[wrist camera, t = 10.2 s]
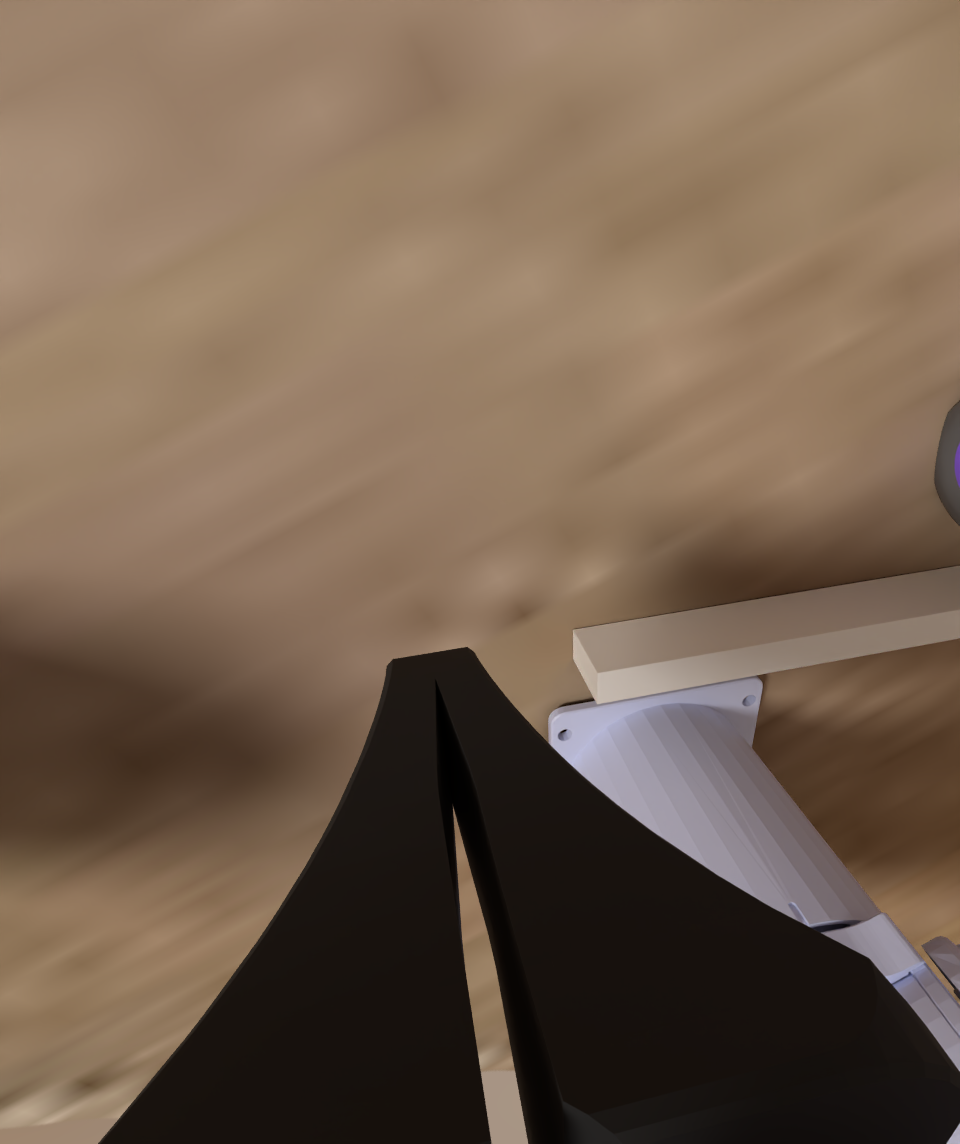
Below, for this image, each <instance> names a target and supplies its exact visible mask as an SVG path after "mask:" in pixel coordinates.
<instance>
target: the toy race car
mask: <svg viewBox="0 0 960 1144" xmlns="http://www.w3.org/2000/svg"><path fill="white" fill-rule="evenodd" d="M934 481H935V486H936V490H937V493H938V495H939V497H940V499H941V502H942V503H943V505H944V507H945V508H946V510H947V511H948V513H949V514H950V516H951V517H952V518H953V519H954V520H955V521H956V523H957V524H958V525H959V526H960V402H958V403H957V404H956V405H955V406H954V407H953V408H952V409H951V410H950V411H949V412H948V414H947V417H946V420H945V422H944V426H943V429H942V433H941V437H940V442H939V447H938V452H937V458H936V465H935V478H934Z"/></svg>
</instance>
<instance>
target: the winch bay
mask: <svg viewBox="0 0 960 1144" xmlns="http://www.w3.org/2000/svg"><path fill="white" fill-rule="evenodd" d="M959 638H960V566H954V567H948V568H942V569H936V570H930V571H924V572H918V573H912V574H906V575H900V576H894V577H888V578H882V579H876V580H870V581H864V582H858V583H852V584H845V585H839V586H833V587H827V588H821V589H815V590H809V591H803V592H797V593H791V594H785V595H779V596H773V597H767V598H761V599H755V600H749V601H743V602H737V603H731V604H725V605H719V606H713V607H707V608H701V609H695V610H689V611H683V612H677V613H671V614H665V615H659V616H653V617H647V618H641V619H635V620H628V621H622V622H616V623H610V624H604V625H598V626H592V627H586V628H580V629H574V630H573V660H574V661H575V663H576V665H577V667H578V669H579V671H580V673H581V675H582V677H583V679H584V680H585V682H586V684H587V686H588V688H589V690H590V692H591V694H592V696H593V698H594V699H595V701H596V703H597V704H602V703H607V702H613V701H618V700H624V699H629V698H635V697H640V696H646V695H651V694H657V693H662V692H668V691H673V690H679V689H684V688H690V687H695V686H701V685H706V684H712V683H717V682H723V681H728V680H734V679H739V678H745V677H750V676H756V675H761V674H767V673H772V672H778V671H783V670H789V669H794V668H800V667H805V666H811V665H816V664H822V663H827V662H833V661H838V660H844V659H849V658H855V657H860V656H866V655H871V654H877V653H882V652H888V651H893V650H899V649H904V648H910V647H915V646H921V645H926V644H932V643H937V642H943V641H948V640H954V639H959Z"/></svg>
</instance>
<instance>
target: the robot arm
mask: <svg viewBox="0 0 960 1144" xmlns="http://www.w3.org/2000/svg"><path fill="white" fill-rule="evenodd" d="M762 689H763V683H762V681H761V680H760V679H759V678H758V677H757V676H750V677H745V678H739V679H734V680H728V681H723V682H717V683H712V684H706V685H701V686H695V687H690V688H684V689H679V690H673V691H668V692H662V693H657V694H651V695H646V696H640V697H635V698H629V699H624V700H618V701H613V702H607V703H602V704H597V703H596V701H592V702H586V703H581V704H575V705H569V706H564V707H560V708H557V709H555V710H554V711H553V712H552V713H551V714H550V716H549V719H548V728H549V743H548V742H547V741H546V740H545V739H544V738H543V737H542V736H541V735H540V734H539V733H538V732H537V731H536V730H535V729H534V728H533V727H532V725H531V724H530V723H529V722H528V721H527V720H526V719H525V718H524V717H523V715H522V714H521V713H520V712H519V711H518V710H517V709H516V708H515V707H514V705H513V704H512V703H511V702H510V701H509V700H508V698H507V697H506V696H505V695H504V694H503V692H502V691H501V690H500V688H499V687H498V686H497V685H496V683H495V682H494V681H493V679H492V678H491V677H490V675H489V674H488V673H487V671H486V670H485V668H484V667H483V666H482V664H481V662H480V661H479V659H478V658H477V656H476V654H475V653H474V652H473V651H472V650H471V649H469V648H468V647H464V648H458V649H452V650H446V651H440V652H434V653H428V654H422V655H416V656H410V657H404V658H398V659H393V660H392V661H391V662H390V663H389V664H388V665H387V669H386V677H385V682H384V686H383V691H382V694H381V698H380V702H379V705H378V708H377V711H376V715H375V718H374V721H373V723H372V726H371V729H370V731H369V734H368V737H367V740H366V742H365V745H364V748H363V751H362V753H361V756H360V758H359V760H358V763H357V765H356V767H355V769H354V772H353V774H352V776H351V778H350V781H349V783H348V785H347V787H346V789H345V792H344V794H343V796H342V798H341V801H340V803H339V805H338V807H337V809H336V811H335V813H334V815H333V817H332V819H331V821H330V823H329V824H328V826H327V828H326V830H325V832H324V834H323V836H322V838H321V839H320V841H319V843H318V845H317V847H316V848H315V850H314V852H313V854H312V855H311V857H310V859H309V861H308V863H307V864H306V866H305V868H304V869H303V871H302V873H301V874H300V876H299V877H298V879H297V881H296V882H295V884H294V885H293V887H292V889H291V890H290V892H289V894H288V895H287V897H286V898H285V900H284V902H283V903H282V905H281V906H280V908H279V910H278V911H277V913H276V914H275V916H274V917H273V919H272V920H271V922H270V923H269V925H268V926H267V928H266V929H265V931H264V932H263V934H262V935H261V937H260V938H259V940H258V941H257V943H256V944H255V945H254V947H253V948H252V949H251V951H250V952H249V954H248V955H247V956H246V958H245V959H244V960H243V962H242V963H241V964H240V966H239V967H238V969H237V970H236V971H235V973H234V974H233V975H232V977H231V978H230V980H229V981H228V982H227V984H226V985H225V986H224V988H223V989H222V991H221V992H220V993H219V995H218V996H217V997H216V999H215V1000H214V1001H213V1003H212V1004H211V1006H210V1007H209V1008H208V1010H207V1011H206V1012H205V1014H204V1015H203V1016H202V1018H201V1019H200V1020H199V1022H198V1023H197V1024H196V1025H195V1027H194V1028H193V1029H192V1031H191V1032H190V1033H189V1034H188V1036H187V1037H186V1038H185V1040H184V1041H183V1042H182V1043H181V1044H180V1046H179V1047H178V1048H177V1049H176V1050H175V1052H174V1053H173V1054H172V1055H171V1056H170V1058H169V1059H168V1060H167V1061H166V1063H165V1064H164V1065H163V1066H162V1067H161V1069H160V1070H159V1071H158V1072H157V1073H156V1075H155V1076H154V1077H153V1078H152V1079H151V1081H150V1082H149V1083H148V1084H147V1086H146V1087H145V1088H144V1089H143V1090H142V1092H141V1093H140V1094H139V1095H138V1096H137V1098H136V1099H135V1100H134V1101H133V1102H132V1104H131V1105H130V1106H129V1107H128V1109H127V1110H126V1111H125V1112H124V1113H123V1115H122V1116H121V1117H120V1118H119V1119H118V1121H117V1122H116V1123H115V1124H114V1126H113V1127H112V1128H111V1129H110V1130H109V1131H108V1133H107V1134H106V1135H105V1136H104V1137H103V1138H102V1140H101V1141H100V1142H99V1143H98V1144H491V1137H490V1131H489V1124H488V1117H487V1111H486V1105H485V1098H484V1092H483V1084H482V1078H481V1071H480V1065H479V1058H478V1051H477V1045H476V1038H475V1032H474V1025H473V1018H472V1012H471V1005H470V999H469V992H468V985H467V979H466V972H465V963H464V953H463V944H462V932H461V917H460V903H459V889H458V874H457V860H456V846H455V831H454V817H453V807H454V811H455V814H456V818H457V822H458V825H459V829H460V833H461V836H462V840H463V844H464V847H465V851H466V855H467V858H468V862H469V866H470V869H471V873H472V877H473V880H474V884H475V887H476V891H477V895H478V898H479V902H480V906H481V909H482V913H483V917H484V920H485V924H486V928H487V931H488V935H489V939H490V944H491V948H492V952H493V956H494V961H495V965H496V970H497V975H498V981H499V986H500V992H501V997H502V1002H503V1008H504V1013H505V1019H506V1024H507V1029H508V1035H509V1040H510V1046H511V1051H512V1056H513V1062H514V1067H515V1073H516V1078H517V1084H518V1089H519V1095H520V1100H521V1106H522V1111H523V1116H524V1121H525V1127H526V1133H527V1138H528V1144H960V1005H959V1004H958V1003H957V1001H956V1000H955V999H954V998H953V996H952V995H951V994H950V993H949V991H948V990H947V989H946V988H945V986H944V985H943V984H942V983H941V981H940V980H939V979H938V978H937V976H936V975H935V974H934V973H933V971H932V970H931V969H930V968H929V966H928V965H927V964H926V963H925V961H924V960H923V959H922V958H921V956H920V955H919V954H918V952H917V951H916V950H915V949H914V947H913V946H912V945H911V944H910V942H909V941H908V940H907V939H906V937H905V936H904V935H903V934H902V932H901V931H900V930H899V929H898V927H897V926H896V925H895V924H894V922H893V921H892V920H891V918H890V917H889V916H888V915H887V914H886V913H883V912H881V911H880V910H879V909H878V907H877V906H876V905H875V904H874V902H873V901H872V900H871V899H870V897H869V896H868V895H867V893H866V892H865V891H864V890H863V888H862V887H861V886H860V885H859V883H858V882H857V881H856V879H855V878H854V877H853V876H852V874H851V873H850V872H849V871H848V869H847V868H846V867H845V866H844V864H843V863H842V862H841V860H840V859H839V858H838V857H837V855H836V854H835V853H834V852H833V850H832V849H831V848H830V846H829V845H828V844H827V843H826V841H825V840H824V839H823V838H822V836H821V835H820V834H819V833H818V831H817V830H816V829H815V827H814V826H813V825H812V824H811V822H810V821H809V820H808V819H807V817H806V816H805V815H804V813H803V812H802V811H801V810H800V808H799V807H798V806H797V805H796V803H795V802H794V801H793V800H792V798H791V797H790V796H789V794H788V793H787V792H786V791H785V789H784V788H783V787H782V786H781V784H780V783H779V782H778V780H777V779H776V778H775V777H774V775H773V774H772V773H771V772H770V770H769V769H768V768H767V767H766V765H765V764H764V763H763V761H762V760H761V759H760V758H759V756H758V755H757V754H756V753H755V751H754V750H753V749H752V744H753V739H754V733H755V728H756V722H757V717H758V711H759V706H760V700H761V695H762ZM746 696H748V697H746ZM745 697H746V698H745ZM744 698H745V699H744ZM565 729H568V730H567V731H566V732H563V733H560V732H561V731H562V730H565ZM921 946H922V947H923V949H924V950H925V952H926V953H927V954H928V956H929V957H930V958H931V960H932V961H933V962H934V964H935V965H936V966H937V967H938V969H939V970H940V971H941V973H942V974H943V975H944V976H945V978H946V979H947V980H948V982H949V983H950V984H951V985H952V987H953V988H954V989H955V990H954V993H955V994H956V995H957V997H958V998H959V999H960V944H958V945H955V944H954V943H953V942H952V941H950V940H949V939H948V938H946V937H942V936H939V937H935V938H934V939H932V940H930V941H928V942H927V943H925V944H923V945H921Z"/></svg>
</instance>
